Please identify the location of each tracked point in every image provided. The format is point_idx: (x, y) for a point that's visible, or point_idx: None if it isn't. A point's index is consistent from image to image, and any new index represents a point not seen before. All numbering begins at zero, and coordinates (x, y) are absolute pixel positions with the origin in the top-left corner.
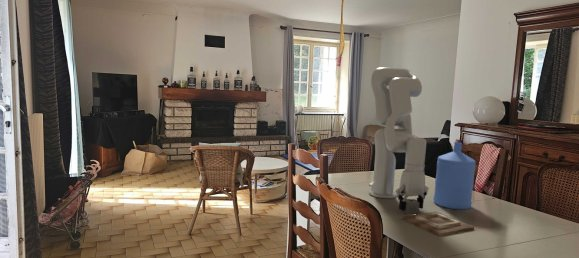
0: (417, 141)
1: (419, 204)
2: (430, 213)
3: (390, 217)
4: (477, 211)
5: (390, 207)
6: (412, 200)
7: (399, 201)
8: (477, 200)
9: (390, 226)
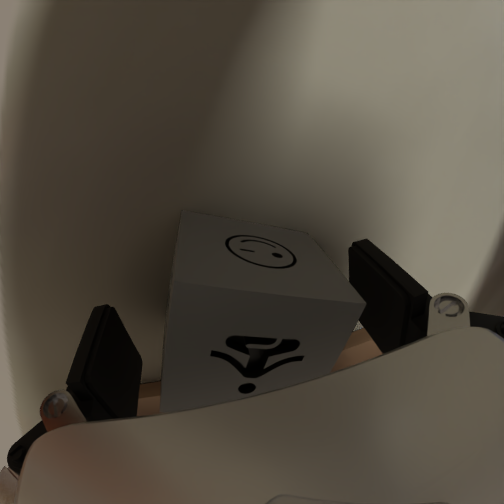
0: None
1: (366, 302)
2: (351, 360)
3: (26, 357)
4: None
5: (88, 110)
6: (284, 354)
7: (73, 364)
8: None
9: (27, 431)
